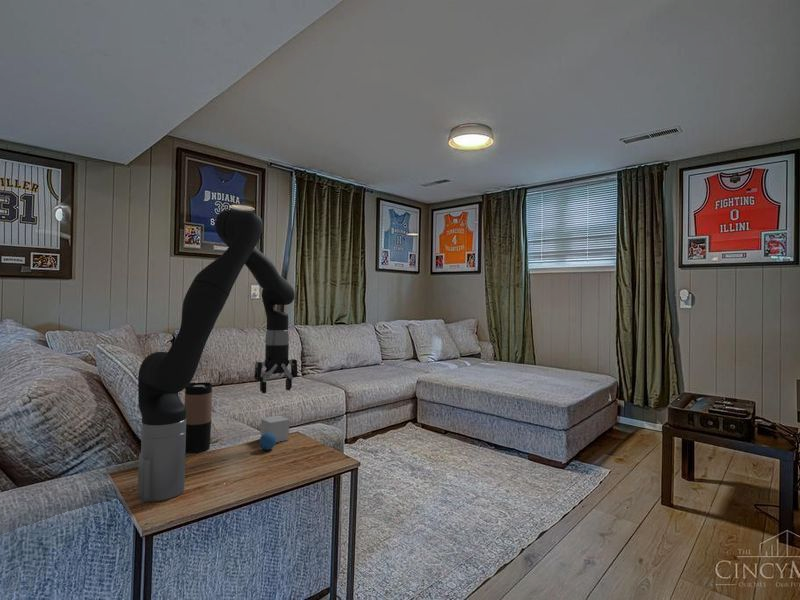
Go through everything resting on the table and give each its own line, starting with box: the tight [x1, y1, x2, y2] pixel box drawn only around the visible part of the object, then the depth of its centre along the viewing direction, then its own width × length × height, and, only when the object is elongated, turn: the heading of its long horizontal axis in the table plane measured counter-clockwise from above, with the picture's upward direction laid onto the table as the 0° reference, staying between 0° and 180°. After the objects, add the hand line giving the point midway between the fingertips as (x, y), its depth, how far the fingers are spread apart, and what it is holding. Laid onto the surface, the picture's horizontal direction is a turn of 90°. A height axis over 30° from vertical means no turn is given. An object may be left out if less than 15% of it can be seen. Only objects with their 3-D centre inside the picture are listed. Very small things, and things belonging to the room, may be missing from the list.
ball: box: [258, 433, 276, 451], centre depth 131 cm, size 5×5×5 cm
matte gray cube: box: [260, 415, 290, 443], centre depth 141 cm, size 7×7×7 cm
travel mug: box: [184, 382, 213, 454], centre depth 130 cm, size 8×8×20 cm
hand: (276, 391), depth 141 cm, fingers open, 8 cm apart
